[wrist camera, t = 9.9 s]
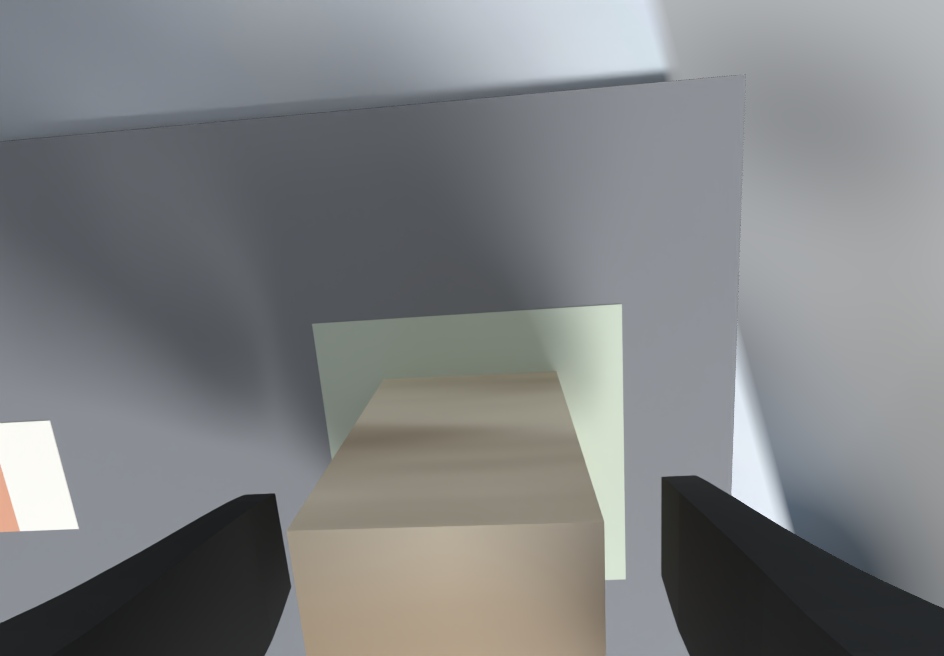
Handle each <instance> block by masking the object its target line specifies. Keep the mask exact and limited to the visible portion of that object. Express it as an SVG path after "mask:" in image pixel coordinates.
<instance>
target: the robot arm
mask: <svg viewBox="0 0 944 656" xmlns="http://www.w3.org/2000/svg"><path fill="white" fill-rule="evenodd" d="M661 577H662V580H663V583H664V586H665V590H666V593H667V596H668V600H669V603H670V606H671V609H672V612H673V616H674V619H675V622H676V625H677V628H678V631H679V633H680V635H681V637H682V640H683V642H684V644H685V646H686V649H687V651H688V653H689V655H690V656H944V608H941V607H939V606H937V605H934V604H932V603H930V602H928V601H925V600H923V599H921V598H919V597H917V596H915V595H912V594H910V593H908V592H906V591H904V590H901V589H899V588H897V587H895V586H893V585H890V584H888V583H886V582H884V581H882V580H880V579H878V578H876V577H874V576H872V575H869V574H867V573H865V572H863V571H861V570H859V569H857V568H855V567H853V566H852V565H849V564H848V563H846V562H844V561H842V560H840V559H839V558H836V557H835V556H832V555H831V554H829V553H827V552H826V551H824V550H822V549H819V548H818V547H816V546H814V545H813V544H810V543H809V542H807V541H805V540H804V539H802V538H800V537H799V536H797V535H795V534H793V533H792V532H790V531H788V530H787V529H785V528H783V527H781V526H780V525H778V524H776V523H775V522H773V521H771V520H770V519H768V518H766V517H765V516H763V515H762V514H760V513H758V512H757V511H755V510H753V509H752V508H750V507H749V506H747V505H745V504H744V503H742V502H741V501H739V500H737V499H736V498H734V497H733V496H731V495H729V494H728V493H726V492H725V491H723V490H721V489H720V488H718V487H716V486H715V485H713V484H711V483H710V482H708V481H706V480H704V479H702V478H700V477H699V476H696V475H690V476H667V477H661ZM290 590H291V582H290V576H289V570H288V564H287V559H286V553H285V547H284V541H283V536H282V530H281V524H280V518H279V513H278V507H277V501H276V495H275V493H270V494H247V495H242V496H240V497H238V498H235V499H233V500H231V501H229V502H227V503H225V504H223V505H221V506H219V507H218V508H216V509H214V510H212V511H210V512H209V513H207V514H205V515H203V516H201V517H200V518H198V519H196V520H195V521H193V522H191V523H189V524H188V525H186V526H184V527H182V528H181V529H179V530H177V531H175V532H174V533H172V534H170V535H169V536H167V537H165V538H163V539H162V540H160V541H158V542H156V543H155V544H153V545H151V546H150V547H148V548H146V549H144V550H143V551H141V552H139V553H137V554H135V555H134V556H132V557H130V558H128V559H126V560H124V561H123V562H121V563H119V564H117V565H115V566H113V567H112V568H110V569H108V570H106V571H104V572H102V573H100V574H99V575H97V576H95V577H93V578H91V579H89V580H88V581H86V582H84V583H82V584H80V585H78V586H76V587H74V588H73V589H71V590H69V591H67V592H65V593H63V594H61V595H59V596H57V597H55V598H53V599H51V600H48V601H46V602H44V603H42V604H40V605H38V606H36V607H34V608H32V609H30V610H27V611H25V612H23V613H21V614H19V615H17V616H14V617H12V618H10V619H8V620H6V621H4V622H1V623H0V656H265V654H266V652H267V650H268V648H269V646H270V644H271V642H272V640H273V637H274V635H275V632H276V629H277V627H278V624H279V621H280V619H281V616H282V613H283V610H284V607H285V604H286V601H287V598H288V595H289V592H290Z"/></svg>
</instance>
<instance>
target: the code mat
mask: <svg viewBox="0 0 944 656" xmlns="http://www.w3.org/2000/svg"><path fill="white" fill-rule="evenodd" d="M745 79H746V75H734V76H722V77H711V78H700V79H689V80H678V81H667V82H656V83H645V84H633V85H622V86H611V87H600V88H589V89H578V90H567V91H556V92H545V93H534V94H522V95H511V96H500V97H489V98H478V99H467V100H456V101H445V102H434V103H422V104H411V105H400V106H389V107H378V108H367V109H356V110H345V111H334V112H323V113H311V114H300V115H289V116H278V117H267V118H256V119H245V120H234V121H223V122H211V123H200V124H189V125H178V126H167V127H156V128H145V129H134V130H123V131H112V132H100V133H89V134H78V135H67V136H56V137H45V138H34V139H23V140H12V141H0V623H1V622H4V621H6V620H8V619H10V618H12V617H14V616H17V615H19V614H21V613H23V612H25V611H27V610H30V609H32V608H34V607H36V606H38V605H40V604H42V603H44V602H46V601H48V600H51V599H53V598H55V597H57V596H59V595H61V594H63V593H65V592H67V591H69V590H71V589H73V588H74V587H76V586H78V585H80V584H82V583H84V582H86V581H88V580H89V579H91V578H93V577H95V576H97V575H99V574H100V573H102V572H104V571H106V570H108V569H110V568H112V567H113V566H115V565H117V564H119V563H121V562H123V561H124V560H126V559H128V558H130V557H132V556H134V555H135V554H137V553H139V552H141V551H143V550H144V549H146V548H148V547H150V546H151V545H153V544H155V543H156V542H158V541H160V540H162V539H163V538H165V537H167V536H169V535H170V534H172V533H174V532H175V531H177V530H179V529H181V528H182V527H184V526H186V525H188V524H189V523H191V522H193V521H195V520H196V519H198V518H200V517H201V516H203V515H205V514H207V513H209V512H210V511H212V510H214V509H216V508H218V507H219V506H221V505H223V504H225V503H227V502H229V501H231V500H233V499H235V498H238V497H240V496H242V495H247V494H270V493H275V495H276V501H277V507H278V513H279V518H280V524H281V530H282V536H283V541H284V547H285V553H286V559H287V564H288V570H289V576H290V582H291V590H290V592H289V595H288V598H287V601H286V604H285V607H284V610H283V613H282V616H281V619H280V621H279V624H278V627H277V629H276V632H275V635H274V637H273V640H272V642H271V644H270V646H269V648H268V650H267V652H266V654H265V656H306V651H305V645H304V638H303V632H302V626H301V620H300V613H299V607H298V601H297V595H296V588H295V582H294V576H293V569H292V563H291V557H290V551H289V544H288V538H287V532H286V531H287V529H288V528H289V526H290V524H291V523H292V521H293V520H294V518H295V517H296V515H297V514H298V512H299V510H300V509H301V507H302V506H303V504H304V503H305V501H306V500H307V498H308V496H309V495H310V493H311V492H312V490H313V489H314V487H315V486H316V484H317V482H318V481H319V479H320V478H321V476H322V475H323V473H324V472H325V470H326V468H327V467H328V465H329V464H330V462H331V461H332V459H333V458H334V456H335V454H336V453H337V451H338V450H339V448H340V447H341V445H342V443H343V442H344V440H345V439H346V437H347V436H348V434H349V433H350V431H351V429H352V428H353V426H354V425H355V423H356V422H357V420H358V419H359V417H360V415H361V414H362V412H363V411H364V409H365V408H366V406H367V405H368V403H369V401H370V400H371V398H372V397H373V395H374V394H375V392H376V391H377V389H378V387H379V386H380V384H381V383H382V381H383V380H384V379H400V378H422V377H444V376H466V375H487V374H509V373H531V372H553V371H557V375H558V378H559V381H560V384H561V387H562V390H563V393H564V397H565V400H566V403H567V406H568V409H569V412H570V415H571V419H572V422H573V425H574V428H575V431H576V434H577V437H578V441H579V444H580V447H581V450H582V453H583V456H584V459H585V463H586V466H587V469H588V472H589V475H590V478H591V481H592V485H593V488H594V491H595V494H596V497H597V500H598V503H599V507H600V510H601V513H602V516H603V519H604V531H605V621H606V656H690V655H689V653H688V651H687V649H686V646H685V644H684V642H683V640H682V637H681V635H680V633H679V631H678V628H677V625H676V622H675V619H674V616H673V612H672V609H671V606H670V603H669V600H668V596H667V593H666V590H665V586H664V583H663V580H662V577H661V477H667V476H690V475H696V476H699V477H700V478H702V479H704V480H706V481H708V482H710V483H711V484H713V485H715V486H716V487H718V488H720V489H721V490H723V491H725V492H726V493H728V494H729V495H731V485H732V456H733V428H734V399H735V370H736V341H737V312H738V284H739V253H740V226H741V198H742V197H741V196H742V168H743V140H744V139H743V138H744V110H745V81H746V80H745Z"/></svg>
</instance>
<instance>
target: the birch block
mask: <svg viewBox="0 0 944 656" xmlns="http://www.w3.org/2000/svg"><path fill="white" fill-rule="evenodd" d="M286 532H287V538H288V544H289V551H290V557H291V563H292V569H293V576H294V582H295V588H296V595H297V601H298V607H299V613H300V620H301V626H302V632H303V638H304V645H305V651H306V656H606V621H605V531H604V519H603V516H602V513H601V510H600V507H599V503H598V500H597V497H596V494H595V491H594V488H593V485H592V481H591V478H590V475H589V472H588V469H587V466H586V463H585V459H584V456H583V453H582V450H581V447H580V444H579V441H578V437H577V434H576V431H575V428H574V425H573V422H572V419H571V415H570V412H569V409H568V406H567V403H566V400H565V397H564V393H563V390H562V387H561V384H560V381H559V378H558V375H557V371H553V372H531V373H509V374H487V375H466V376H444V377H422V378H400V379H384V380H383V381H382V383H381V384H380V386H379V387H378V389H377V391H376V392H375V394H374V395H373V397H372V398H371V400H370V401H369V403H368V405H367V406H366V408H365V409H364V411H363V412H362V414H361V415H360V417H359V419H358V420H357V422H356V423H355V425H354V426H353V428H352V429H351V431H350V433H349V434H348V436H347V437H346V439H345V440H344V442H343V443H342V445H341V447H340V448H339V450H338V451H337V453H336V454H335V456H334V458H333V459H332V461H331V462H330V464H329V465H328V467H327V468H326V470H325V472H324V473H323V475H322V476H321V478H320V479H319V481H318V482H317V484H316V486H315V487H314V489H313V490H312V492H311V493H310V495H309V496H308V498H307V500H306V501H305V503H304V504H303V506H302V507H301V509H300V510H299V512H298V514H297V515H296V517H295V518H294V520H293V521H292V523H291V524H290V526H289V528H288V529H287V531H286Z"/></svg>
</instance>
